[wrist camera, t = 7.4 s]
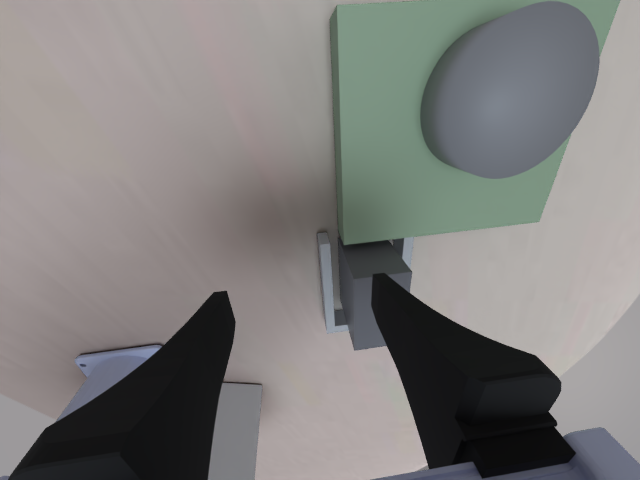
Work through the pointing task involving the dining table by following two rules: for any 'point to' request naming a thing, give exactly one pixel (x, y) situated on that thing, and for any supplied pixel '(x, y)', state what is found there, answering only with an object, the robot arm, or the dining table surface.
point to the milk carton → (236, 433)
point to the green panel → (453, 114)
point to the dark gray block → (367, 286)
